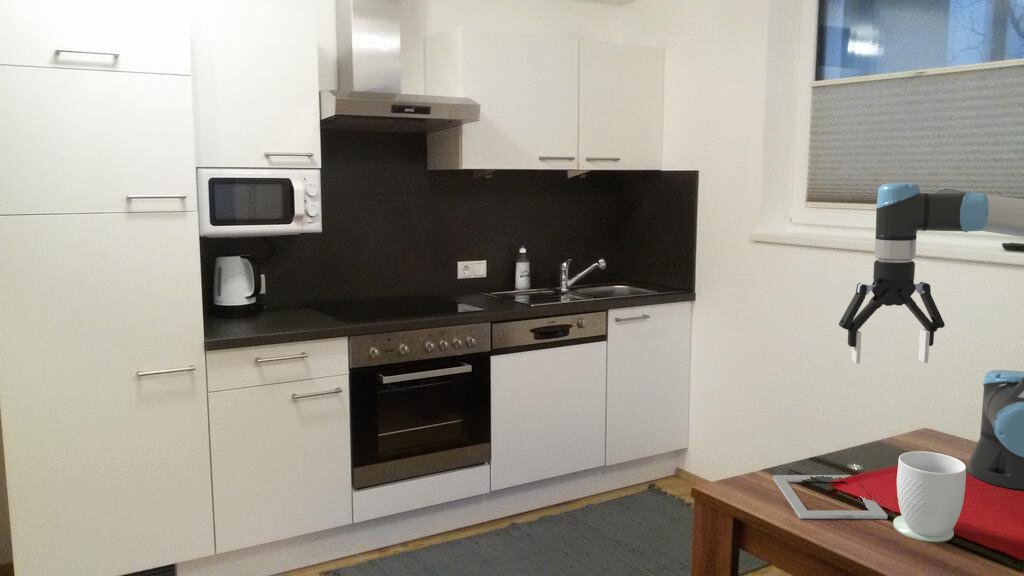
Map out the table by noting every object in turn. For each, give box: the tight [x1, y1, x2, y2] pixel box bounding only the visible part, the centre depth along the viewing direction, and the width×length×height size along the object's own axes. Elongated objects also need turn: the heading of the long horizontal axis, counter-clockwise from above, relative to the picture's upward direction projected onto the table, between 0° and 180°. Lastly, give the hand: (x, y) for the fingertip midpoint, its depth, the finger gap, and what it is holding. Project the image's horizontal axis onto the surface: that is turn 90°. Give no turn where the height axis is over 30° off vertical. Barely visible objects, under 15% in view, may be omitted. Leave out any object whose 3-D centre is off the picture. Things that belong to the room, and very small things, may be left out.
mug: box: [896, 450, 967, 537], centre depth 146 cm, size 15×11×13 cm
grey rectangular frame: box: [772, 474, 888, 520], centre depth 161 cm, size 16×20×1 cm
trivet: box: [892, 514, 955, 543], centre depth 147 cm, size 10×10×1 cm
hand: (889, 361), depth 163 cm, fingers open, 13 cm apart
